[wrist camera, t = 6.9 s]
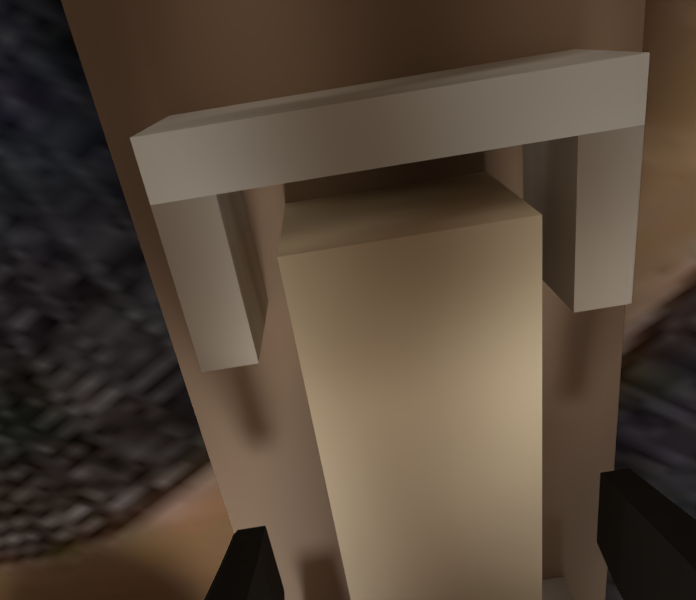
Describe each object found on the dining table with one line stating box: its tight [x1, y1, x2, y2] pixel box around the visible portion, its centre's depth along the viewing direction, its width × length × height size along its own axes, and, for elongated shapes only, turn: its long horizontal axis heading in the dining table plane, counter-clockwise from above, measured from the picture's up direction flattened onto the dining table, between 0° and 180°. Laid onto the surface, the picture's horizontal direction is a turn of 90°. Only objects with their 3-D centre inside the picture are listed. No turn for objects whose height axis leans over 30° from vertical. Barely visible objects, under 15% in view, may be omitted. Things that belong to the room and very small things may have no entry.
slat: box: [277, 171, 542, 600], centre depth 13 cm, size 4×14×3 cm, turn 8°
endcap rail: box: [61, 0, 650, 600], centre depth 14 cm, size 10×24×4 cm, turn 8°
